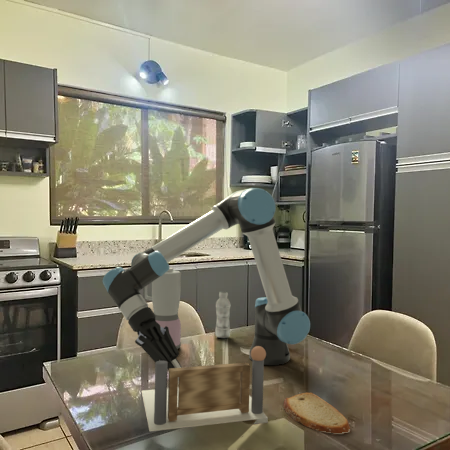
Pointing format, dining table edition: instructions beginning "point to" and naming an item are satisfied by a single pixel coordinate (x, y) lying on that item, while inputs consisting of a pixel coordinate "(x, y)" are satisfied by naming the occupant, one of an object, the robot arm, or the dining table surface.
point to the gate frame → (159, 412)
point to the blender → (167, 302)
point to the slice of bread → (315, 413)
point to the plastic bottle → (222, 316)
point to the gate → (208, 389)
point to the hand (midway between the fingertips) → (184, 382)
